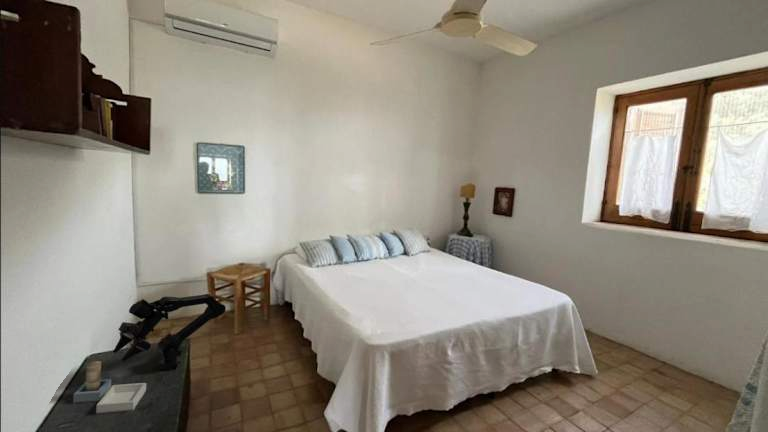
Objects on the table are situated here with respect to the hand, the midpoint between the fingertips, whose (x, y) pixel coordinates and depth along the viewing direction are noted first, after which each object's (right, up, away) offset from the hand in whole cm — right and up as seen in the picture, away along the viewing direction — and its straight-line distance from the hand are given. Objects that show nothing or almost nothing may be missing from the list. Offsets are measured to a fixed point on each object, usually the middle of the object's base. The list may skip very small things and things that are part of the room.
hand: (117, 356), depth 131 cm
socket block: (-6, -13, -5) cm, 15 cm away
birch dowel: (-6, -13, -5) cm, 15 cm away
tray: (+8, -15, -6) cm, 18 cm away
